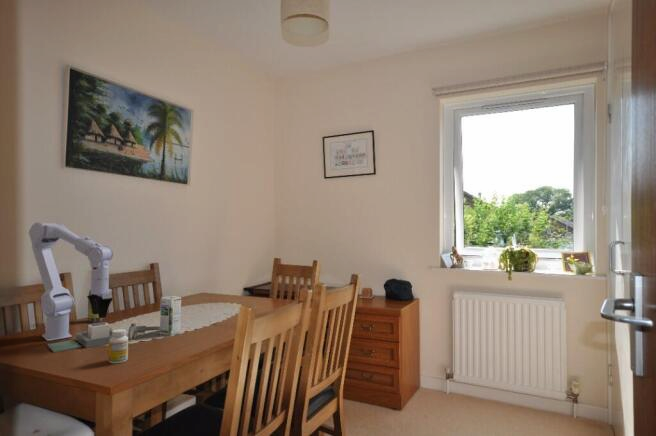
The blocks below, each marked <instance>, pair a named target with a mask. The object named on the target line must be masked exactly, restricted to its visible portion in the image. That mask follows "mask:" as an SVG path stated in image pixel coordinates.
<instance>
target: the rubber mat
mask: <svg viewBox="0 0 656 436" xmlns="http://www.w3.org/2000/svg"><path fill="white" fill-rule="evenodd" d="M47 347H48V348H49V350H51V351H52V352H53V353H58V352H63V351H70V350H76V349H81V348H82V345H80V344H79V342H78V341H77V342H76V341H75V340H74V339H70V340H65V341H59V342H54V343H47Z"/></svg>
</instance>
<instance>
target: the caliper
mask: <svg viewBox="0 0 656 436" xmlns="http://www.w3.org/2000/svg"><path fill="white" fill-rule="evenodd" d="M128 327H129V328H128V331H127V333H128V334H127V337H128V341H132V340H135V339H136V338H137V336H138V334H145V333H146V332H149V331H151V332H152V331H160V325H157V326H147V325H137V323H135V322H134V323H131V324H130V326H128Z"/></svg>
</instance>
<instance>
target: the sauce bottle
mask: <svg viewBox="0 0 656 436" xmlns="http://www.w3.org/2000/svg"><path fill="white" fill-rule="evenodd" d="M90 291H91V289H90V290H89V292H88V296H89V295H92V294H90ZM87 299H88V298H87ZM87 301H88V302H87V321H88V322H89V323H100V322H104V317H103V318H99V316H98V314H93V313H92V308H91V304H90V301H89V299H88V300H87Z"/></svg>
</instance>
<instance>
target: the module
mask: <svg viewBox="0 0 656 436" xmlns="http://www.w3.org/2000/svg"><path fill="white" fill-rule="evenodd" d="M110 327H111V325H110V324H109V323H108V322H105V321H101V322H92V324H88V327H87V328H88V329H87V331H88V339H89V340H90V339H95V338H101V337H107V336H109V335H110Z"/></svg>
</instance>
